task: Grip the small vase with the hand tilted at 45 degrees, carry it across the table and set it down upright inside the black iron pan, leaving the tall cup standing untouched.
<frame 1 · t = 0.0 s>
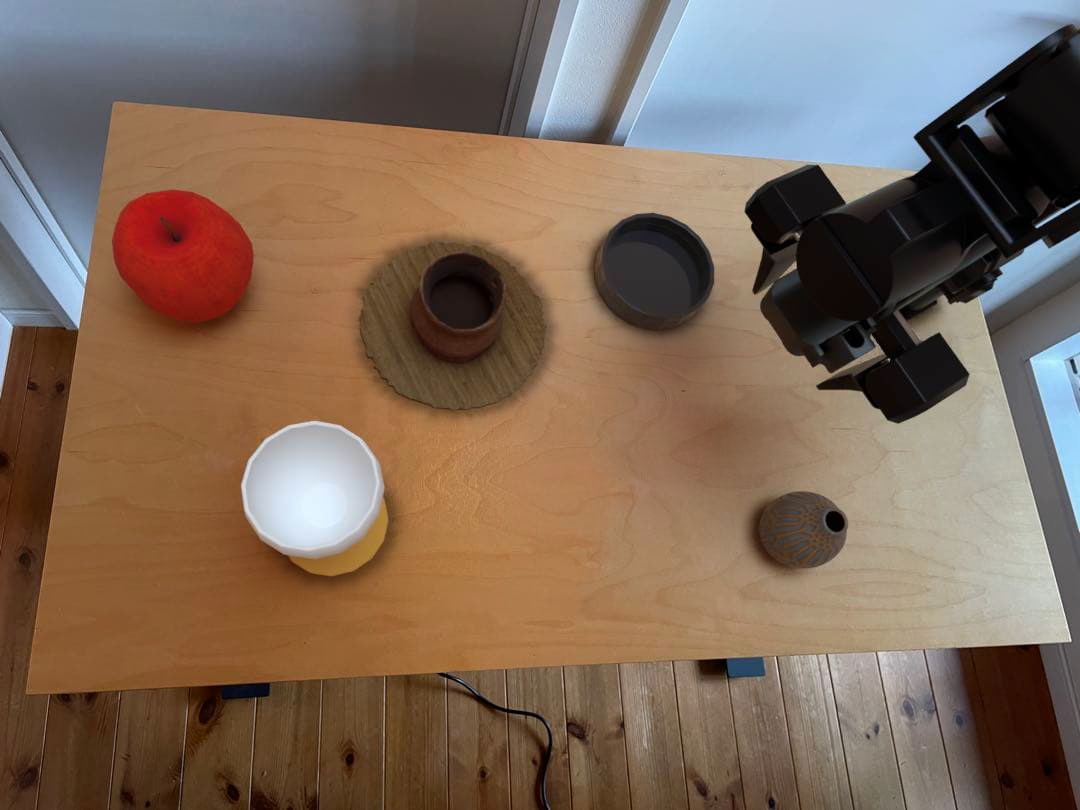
hand: (788, 337, 55), 15 cm above the table, tool pointing down, fingers open, 9 cm apart
apple: (208, 295, 62), on the table
cup: (334, 522, 58), on the table
vase: (780, 535, 65), on the table
pan: (649, 278, 71), on the table
ceramic pot: (454, 324, 65), on the table
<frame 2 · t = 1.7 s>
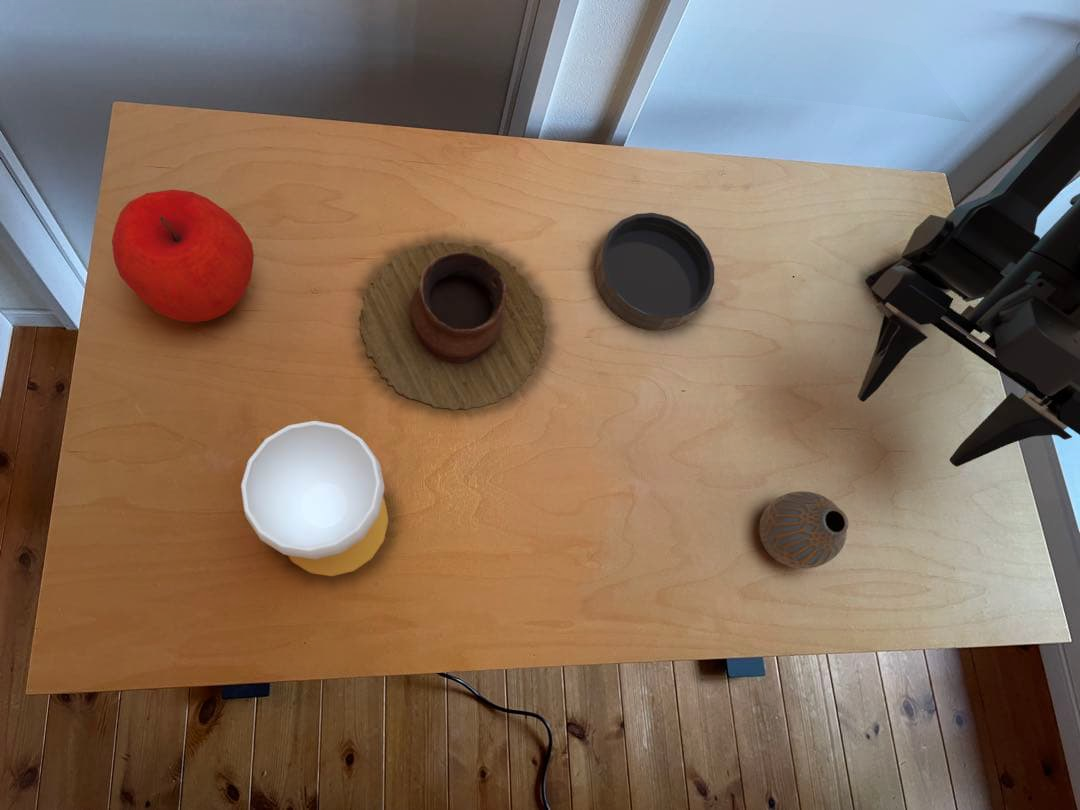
hand: (906, 431, 56), 13 cm above the table, tool tilted 45°, fingers open, 9 cm apart
nothing on the table moved.
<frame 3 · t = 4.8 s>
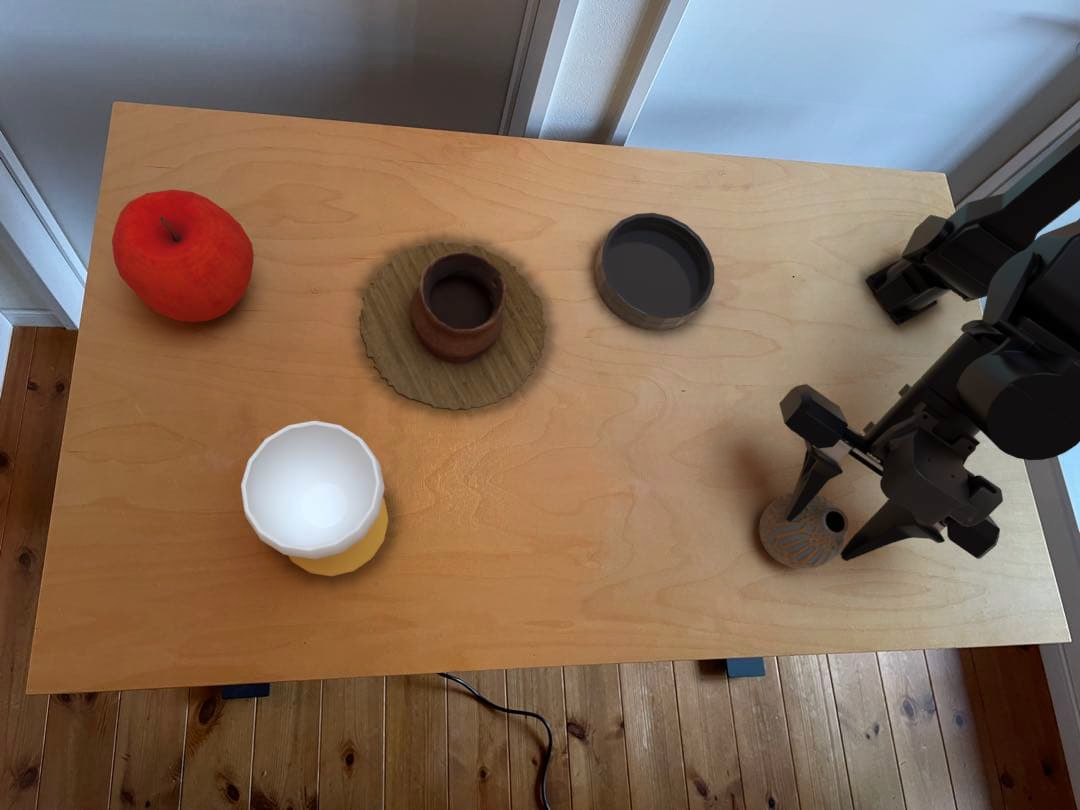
hand: (814, 538, 58), 7 cm above the table, tool tilted 45°, fingers closed on vase, 5 cm apart
vase: (780, 535, 65), on the table, touching gripper
everything else where it was.
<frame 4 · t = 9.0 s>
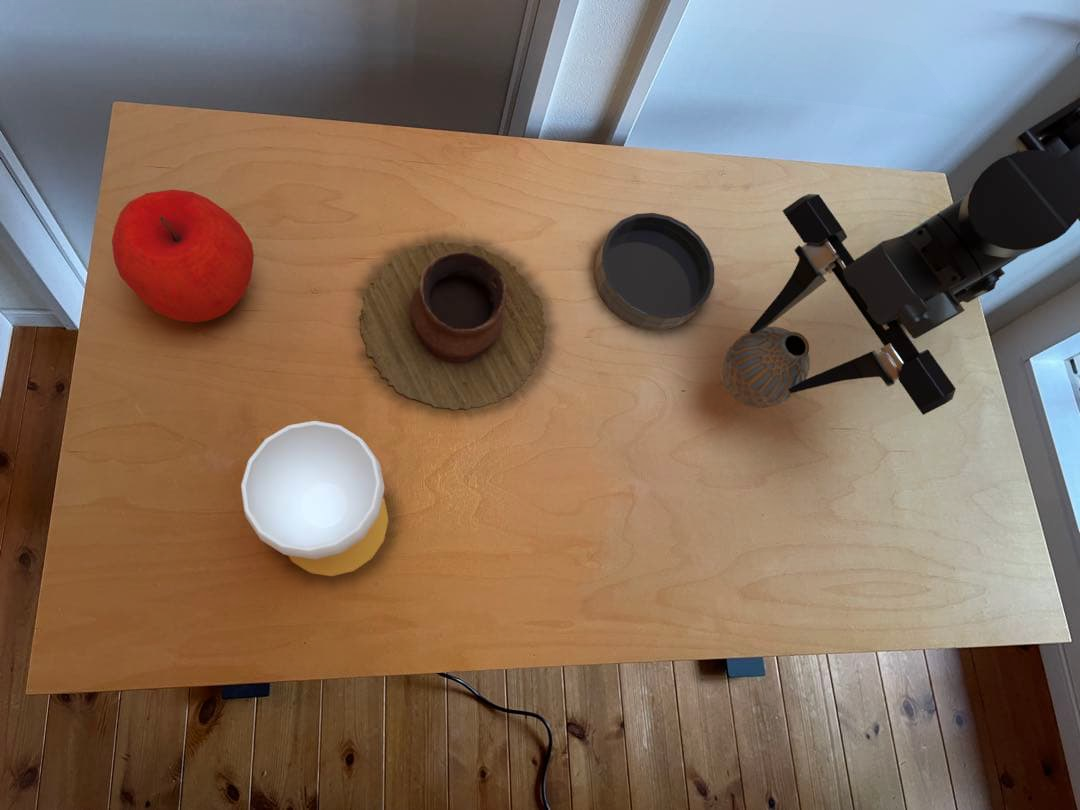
hand: (770, 361, 56), 12 cm above the table, tool tilted 45°, fingers closed on vase, 5 cm apart
vase: (744, 382, 63), point 6 cm above the table, touching gripper
everything else where it was.
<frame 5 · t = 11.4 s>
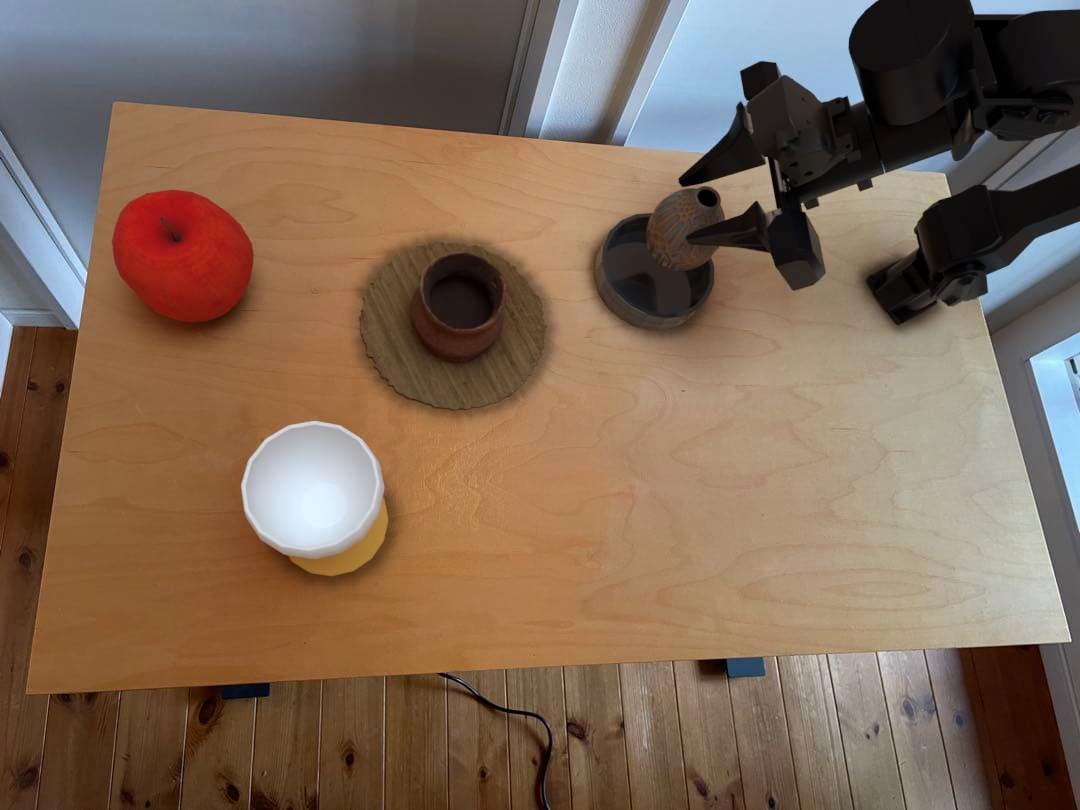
hand: (683, 211, 60), 12 cm above the table, tool tilted 45°, fingers closed on vase, 5 cm apart
vase: (670, 251, 66), point 5 cm above the table, touching gripper
everything else where it was.
when the fingers open (7 cm above the table, at t = 13.4 s): vase stays where it is, resting on pan.
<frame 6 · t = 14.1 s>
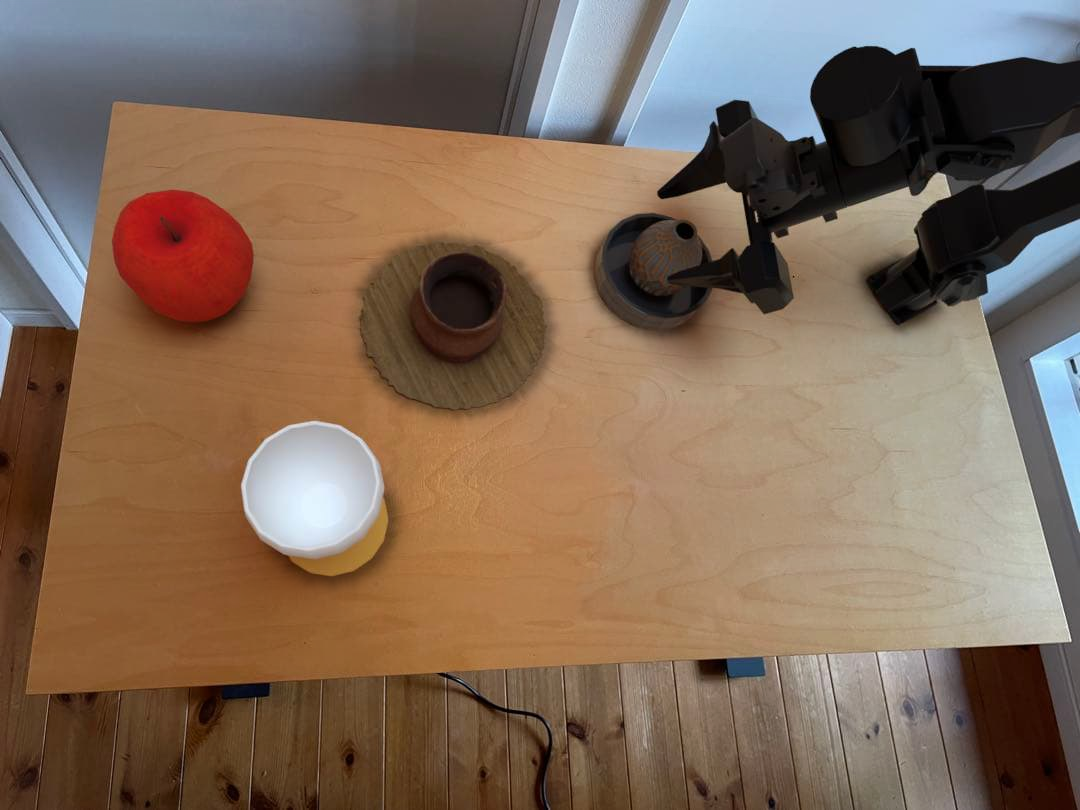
hand: (663, 237, 64), 8 cm above the table, tool tilted 45°, fingers open, 9 cm apart
vase: (651, 277, 71), resting on pan
everything else where it was.
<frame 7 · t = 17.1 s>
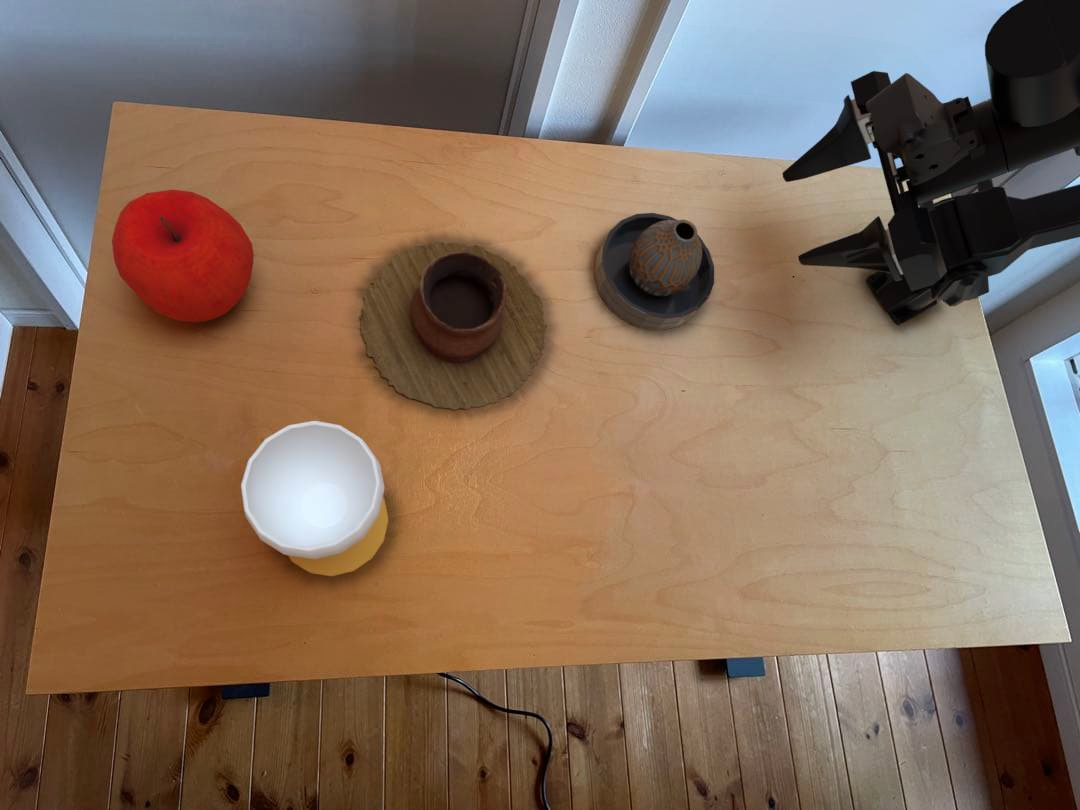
hand: (791, 218, 60), 14 cm above the table, tool tilted 40°, fingers open, 9 cm apart
nothing on the table moved.
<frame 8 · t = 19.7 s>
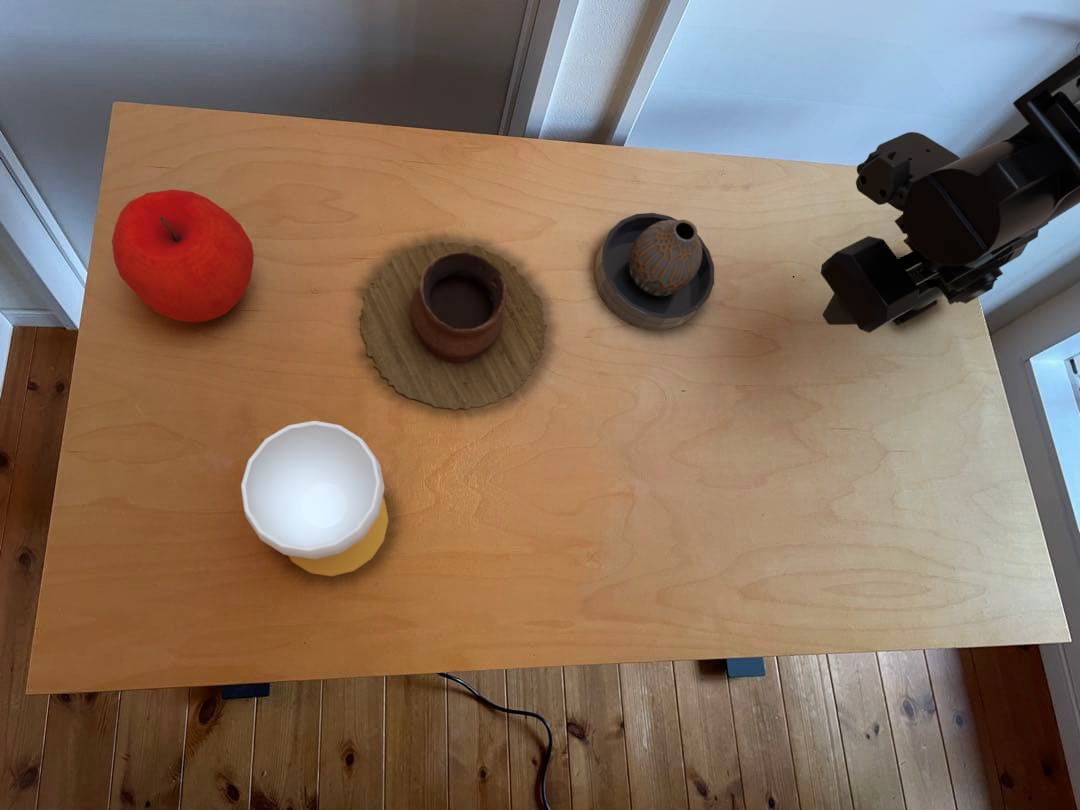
hand: (863, 299, 60), 13 cm above the table, tool pointing down, fingers open, 9 cm apart
nothing on the table moved.
at the end: vase inside the target area in the pan (0.2 cm from its centre), point 0.3 cm above the pan's base; vase tilted 0°; cup moved 0.2 cm from its start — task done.
